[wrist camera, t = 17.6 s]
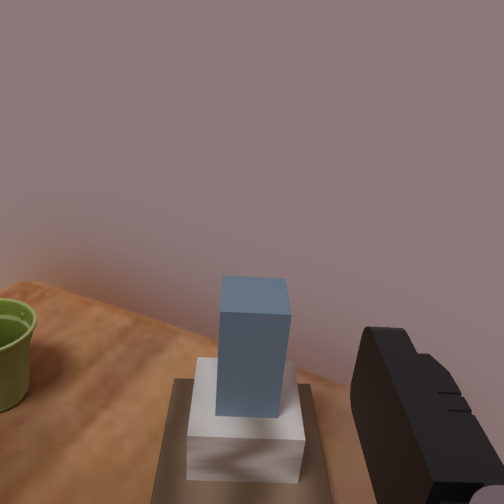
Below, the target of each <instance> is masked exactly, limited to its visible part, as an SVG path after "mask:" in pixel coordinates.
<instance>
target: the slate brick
mask: <svg viewBox="0 0 504 504" xmlns="http://www.w3.org/2000/svg"><path fill="white" fill-rule="evenodd" d="M221 294H222V295H221V307H220V325H219V326H220V327H219V346H218V366H217V387H216V408H215V416H229V417H256V418H278V412H279V405H280V397H281V390H282V382H283V375H284V367H285V360H286V352H287V345H288V336H289V330H290V322H291V309H290V304H289V297H288V291H287V285H286V279H280V278H260V277H241V276H223V279H222V293H221Z"/></svg>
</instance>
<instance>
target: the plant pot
mask: <svg viewBox="0 0 504 504" xmlns="http://www.w3.org/2000/svg"><path fill="white" fill-rule="evenodd" d="M36 323H37V315H36V312H35V311H34V309H33V308H32V307H31V306H29V305H28V304H26V303H23V302H21V301H18V300H12V299H4V298H0V412H2V411H5V410H7V409H9V408H11V407H13V406H15V405H16V404H18V403H19V402H20V401H21V400H22V398H23V397H24V395H25V394H26V393H27V391H28V390H29V387H30V340H31V338H32V334H33V330H34V329H35V327H36Z"/></svg>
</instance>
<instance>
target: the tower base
mask: <svg viewBox="0 0 504 504" xmlns="http://www.w3.org/2000/svg"><path fill="white" fill-rule="evenodd" d="M217 366H218V358H205V357H197V365H196V372H195V379H177V378H174V383H173V388H172V393H171V398H170V404H169V409H168V414H167V419H166V424H165V430H164V435H163V440H162V445H161V451H160V456H159V461H158V466H157V471H156V477H155V482H154V487H153V492H152V498H151V503H150V504H332V502H331V497H330V491H329V486H328V480H327V475H326V469H325V464H324V458H323V453H322V447H321V442H320V436H319V431H318V425H317V420H316V414H315V409H314V403H313V398H312V392H311V387H310V384H297V379H296V373H295V366H294V362H292V361H285V367H284V375H283V382H282V390H281V397H280V405H279V412H278V418H256V417H229V416H215V408H216V387H217Z"/></svg>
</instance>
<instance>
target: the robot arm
mask: <svg viewBox="0 0 504 504" xmlns="http://www.w3.org/2000/svg"><path fill="white" fill-rule="evenodd" d="M350 400H351V409H352V414H353V418H354V421H355V425H356V429H357V432H358V436H359V440H360V443H361V447H362V450H363V454H364V458H365V461H366V465H367V469H368V472H369V476H370V479H371V483H372V487H373V490H374V494H375V498H376V501H377V504H504V465H503V464H502V462H501V460H500V458H499V457H498V455H497V453H496V452H495V450H494V448H493V446H492V445H491V443H490V441H489V440H488V438H487V436H486V434H485V433H484V431H483V429H482V427H481V426H480V424H479V422H478V421H477V419H476V417H475V415H472V413H471V411H472V410H471V409H470V407H469V405H468V403H467V402H466V400H465V398H464V397H462V396H461V392H460V390H459V388H458V386H457V384H456V383H455V381H454V379H453V378H452V376H451V374H450V372H448V371H447V370H446V369H445V368H444V367H443V366H442V365H441V364H440V363H439V362H437V361H436V360H435V359H434V358H433V357H432V356H431V355H430V354H418V353H417V352H416V350H415V348H414V346H413V344H412V342H411V340H410V338H409V336H408V334H407V332H406V331H405V330H404V329H403V328H389V327H365V329H364V330H363V333H362V337H361V341H360V346H359V350H358V355H357V359H356V364H355V368H354V373H353V377H352V382H351V391H350Z"/></svg>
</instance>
